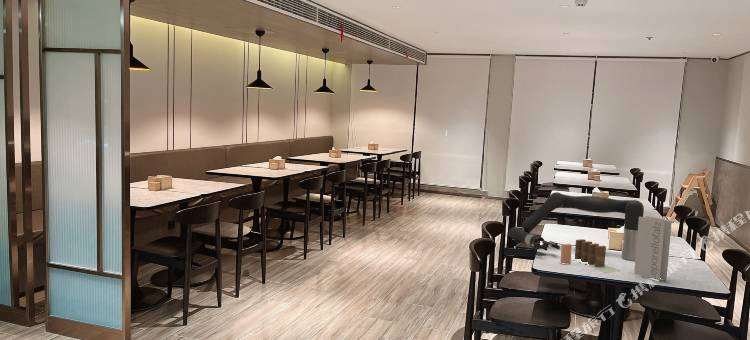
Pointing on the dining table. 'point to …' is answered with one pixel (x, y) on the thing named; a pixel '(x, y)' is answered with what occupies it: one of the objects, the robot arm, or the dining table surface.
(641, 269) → the brochure
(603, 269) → the mat
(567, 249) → the tile
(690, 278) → the dining table surface
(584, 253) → the tile
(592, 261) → the tile
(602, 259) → the tile
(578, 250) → the tile
